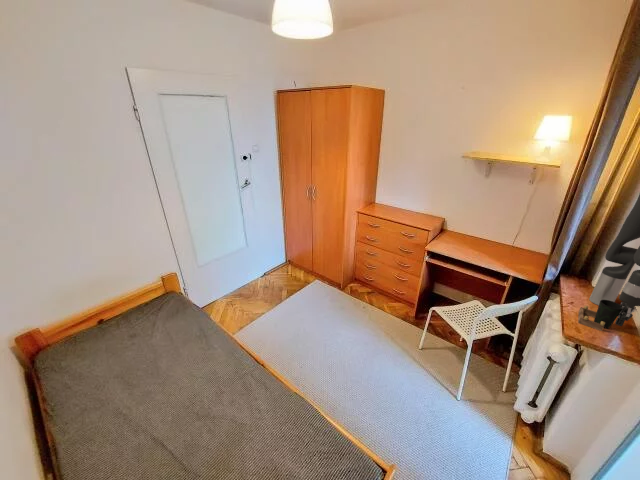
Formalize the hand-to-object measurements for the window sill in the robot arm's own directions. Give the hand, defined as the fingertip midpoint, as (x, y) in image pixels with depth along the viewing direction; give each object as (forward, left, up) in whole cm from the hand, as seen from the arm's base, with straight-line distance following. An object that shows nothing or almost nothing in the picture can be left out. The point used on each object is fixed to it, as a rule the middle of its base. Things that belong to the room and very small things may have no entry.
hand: (618, 324), depth 127 cm
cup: (0, -5, -3) cm, 6 cm away
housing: (0, -9, -3) cm, 9 cm away
